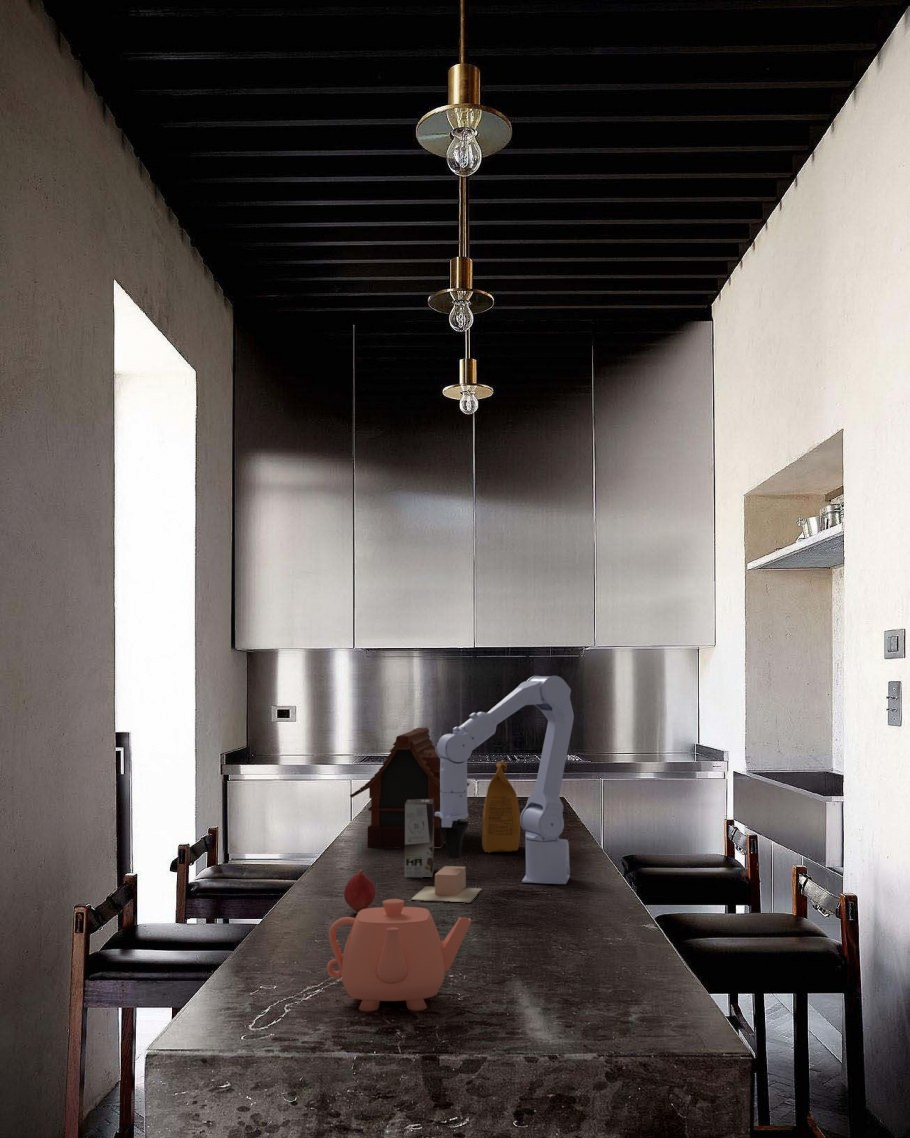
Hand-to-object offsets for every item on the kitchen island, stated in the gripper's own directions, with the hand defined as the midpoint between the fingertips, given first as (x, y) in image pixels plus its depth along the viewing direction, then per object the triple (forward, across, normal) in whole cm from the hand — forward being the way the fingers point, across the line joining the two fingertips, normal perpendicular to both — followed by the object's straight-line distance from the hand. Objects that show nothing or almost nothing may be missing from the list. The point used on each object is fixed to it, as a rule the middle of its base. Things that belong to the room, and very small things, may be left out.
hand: (454, 857), depth 212 cm
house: (+7, -60, -25) cm, 65 cm away
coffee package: (+7, -47, +2) cm, 48 cm away
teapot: (+7, +72, +8) cm, 73 cm away
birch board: (+6, +6, 0) cm, 9 cm away
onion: (+7, +24, -13) cm, 28 cm away
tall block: (+4, -1, 0) cm, 4 cm away
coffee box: (+7, -14, -11) cm, 19 cm away
